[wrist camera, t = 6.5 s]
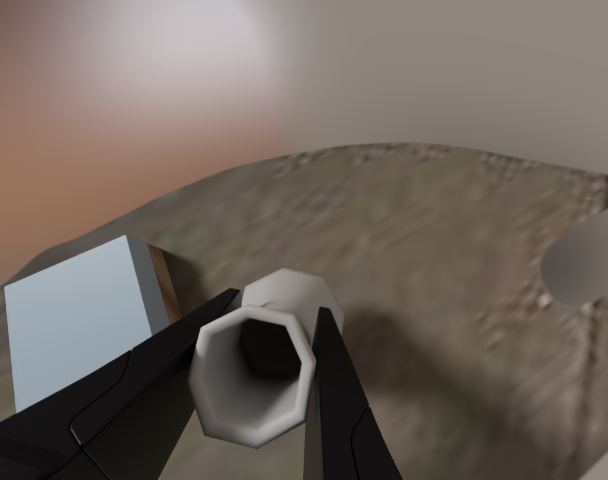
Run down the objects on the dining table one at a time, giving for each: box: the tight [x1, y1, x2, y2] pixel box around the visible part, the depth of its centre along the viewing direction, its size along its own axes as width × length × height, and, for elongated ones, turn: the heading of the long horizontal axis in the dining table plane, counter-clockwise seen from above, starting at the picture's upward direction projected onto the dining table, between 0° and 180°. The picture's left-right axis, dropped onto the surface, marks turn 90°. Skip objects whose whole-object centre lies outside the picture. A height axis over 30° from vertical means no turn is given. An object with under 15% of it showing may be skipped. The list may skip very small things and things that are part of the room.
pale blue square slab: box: [4, 235, 170, 413], centre depth 19 cm, size 10×10×2 cm
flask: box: [187, 268, 345, 449], centre depth 10 cm, size 7×7×10 cm
